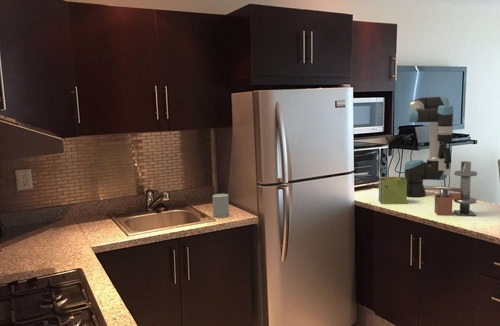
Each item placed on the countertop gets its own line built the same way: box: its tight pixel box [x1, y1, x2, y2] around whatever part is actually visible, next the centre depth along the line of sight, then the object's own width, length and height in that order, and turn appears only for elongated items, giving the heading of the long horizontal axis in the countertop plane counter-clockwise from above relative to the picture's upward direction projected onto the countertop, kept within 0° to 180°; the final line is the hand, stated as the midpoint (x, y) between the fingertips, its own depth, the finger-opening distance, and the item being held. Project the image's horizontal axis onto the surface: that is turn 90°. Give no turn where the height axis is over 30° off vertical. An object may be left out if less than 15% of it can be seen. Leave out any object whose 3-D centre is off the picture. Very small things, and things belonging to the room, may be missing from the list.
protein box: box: [378, 176, 408, 205], centre depth 267 cm, size 10×15×16 cm
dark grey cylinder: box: [439, 187, 449, 197], centre depth 236 cm, size 4×4×14 cm
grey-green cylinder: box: [212, 193, 230, 219], centre depth 251 cm, size 10×10×12 cm
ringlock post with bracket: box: [434, 160, 478, 217], centre depth 234 cm, size 11×20×29 cm, turn 78°
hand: (444, 172), depth 234 cm, fingers open, 13 cm apart
